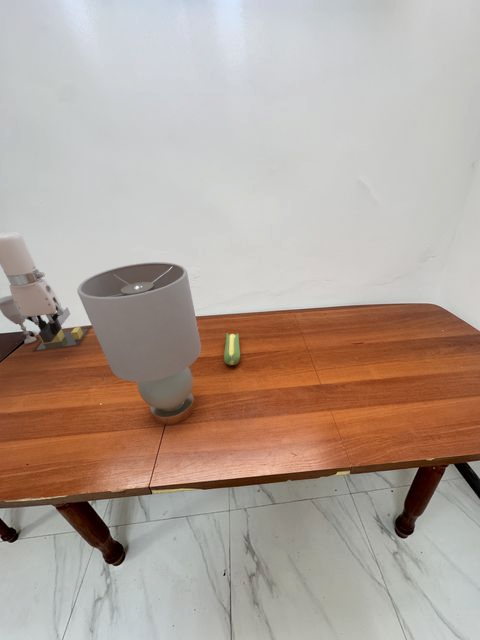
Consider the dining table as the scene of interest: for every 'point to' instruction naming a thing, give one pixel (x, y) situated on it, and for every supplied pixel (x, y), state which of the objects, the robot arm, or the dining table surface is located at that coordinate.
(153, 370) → the lamp
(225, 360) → the edible corn
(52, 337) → the knife
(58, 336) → the butter block
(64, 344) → the slate board
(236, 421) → the dining table surface
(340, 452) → the dining table surface
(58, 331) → the robot arm
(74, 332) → the butter slice
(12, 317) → the chalice
